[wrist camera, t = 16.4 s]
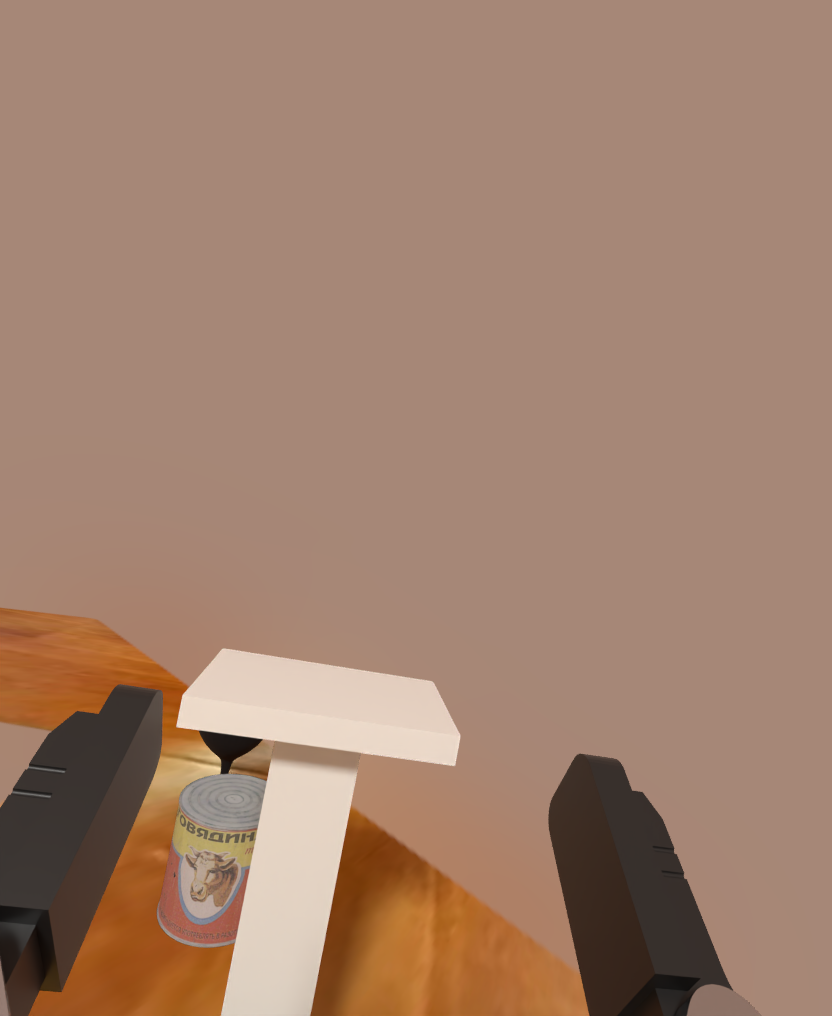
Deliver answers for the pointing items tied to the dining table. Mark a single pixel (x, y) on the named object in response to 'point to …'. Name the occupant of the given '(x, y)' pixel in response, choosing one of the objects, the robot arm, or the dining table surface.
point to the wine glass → (228, 746)
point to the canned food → (210, 859)
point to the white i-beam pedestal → (305, 799)
